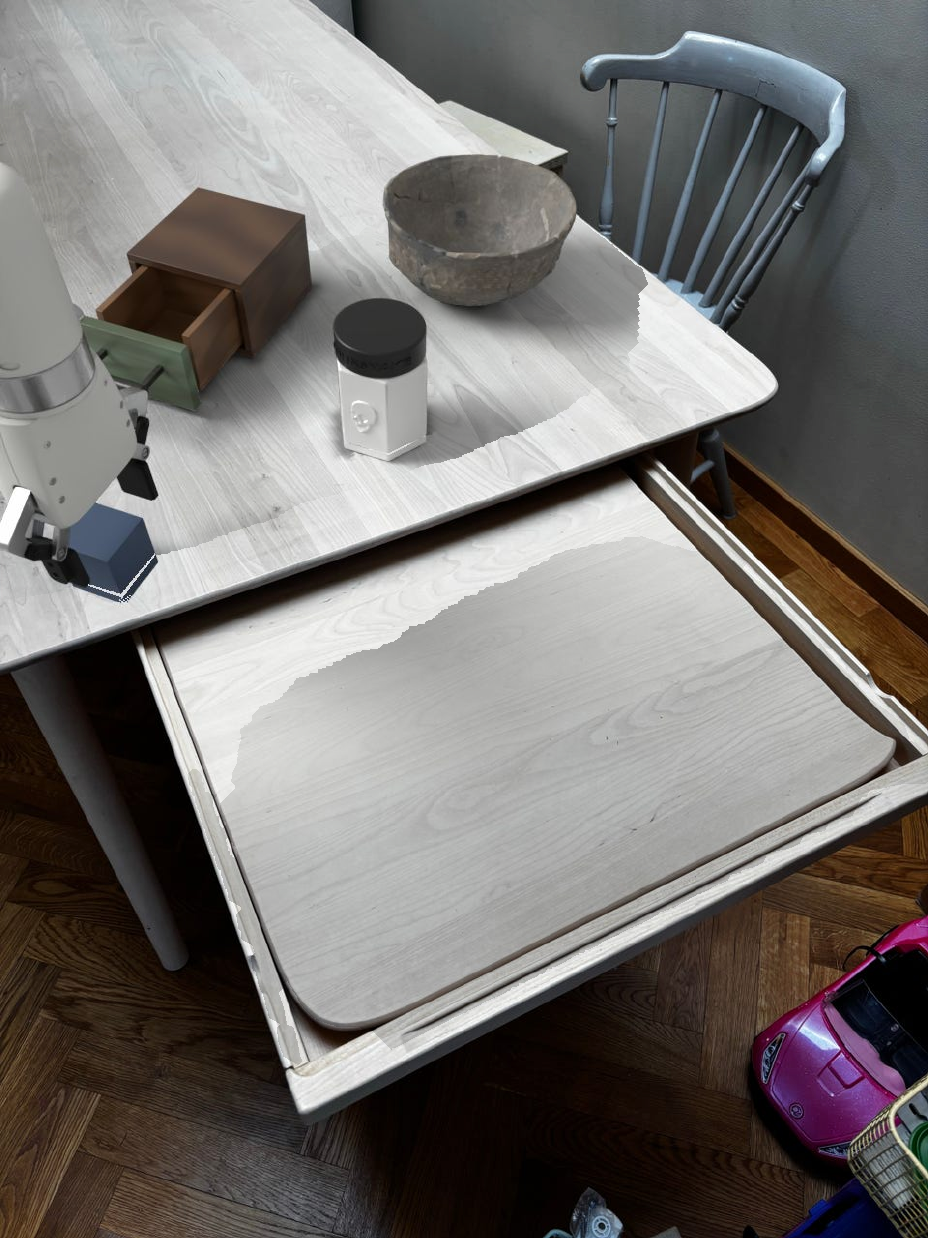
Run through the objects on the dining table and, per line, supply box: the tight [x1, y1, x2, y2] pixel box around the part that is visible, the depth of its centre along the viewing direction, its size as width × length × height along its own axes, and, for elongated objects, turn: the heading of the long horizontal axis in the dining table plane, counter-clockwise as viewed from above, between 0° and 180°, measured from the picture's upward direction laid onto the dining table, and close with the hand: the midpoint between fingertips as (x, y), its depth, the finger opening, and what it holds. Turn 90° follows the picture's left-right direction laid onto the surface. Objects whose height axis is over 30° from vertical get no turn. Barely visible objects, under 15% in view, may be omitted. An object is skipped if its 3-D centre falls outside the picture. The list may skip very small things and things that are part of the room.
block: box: [68, 501, 159, 604], centre depth 74 cm, size 5×5×6 cm
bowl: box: [381, 153, 577, 307], centre depth 99 cm, size 21×21×10 cm
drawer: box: [80, 265, 244, 412], centre depth 88 cm, size 17×11×7 cm
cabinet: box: [126, 187, 313, 359], centre depth 95 cm, size 14×13×9 cm
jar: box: [332, 297, 429, 462], centre depth 83 cm, size 9×8×12 cm
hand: (107, 535), depth 73 cm, fingers open, 9 cm apart
